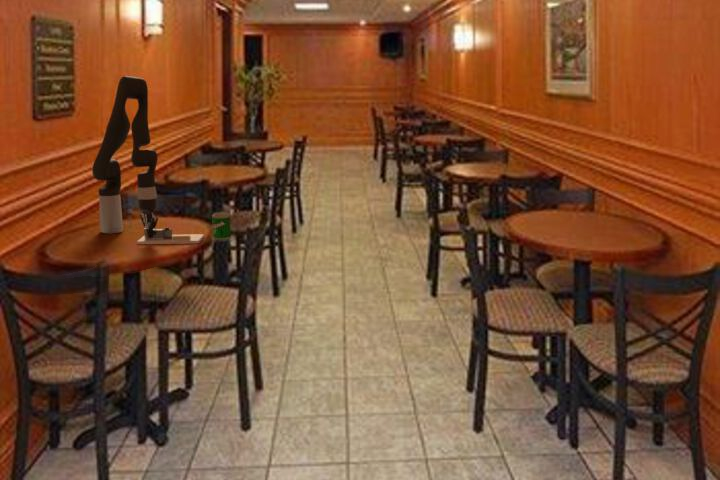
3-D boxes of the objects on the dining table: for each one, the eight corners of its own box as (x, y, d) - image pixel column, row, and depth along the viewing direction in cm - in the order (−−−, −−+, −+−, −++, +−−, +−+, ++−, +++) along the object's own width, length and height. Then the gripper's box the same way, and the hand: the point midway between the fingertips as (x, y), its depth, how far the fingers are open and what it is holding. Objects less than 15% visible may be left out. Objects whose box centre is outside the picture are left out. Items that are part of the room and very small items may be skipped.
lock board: (137, 244, 325) (136, 237, 324) (145, 237, 338) (144, 230, 337) (198, 243, 325) (198, 236, 325) (204, 236, 338) (203, 230, 337)
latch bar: (173, 236, 331) (172, 227, 331) (171, 238, 328) (170, 228, 327) (146, 236, 332) (146, 227, 331) (144, 238, 328) (143, 229, 327)
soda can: (222, 237, 337) (221, 210, 334) (234, 239, 332) (233, 212, 330) (209, 240, 331) (208, 213, 328) (221, 242, 326) (219, 215, 324)
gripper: (162, 198, 320) (165, 238, 323) (148, 194, 330) (151, 234, 333) (145, 200, 315) (148, 241, 318) (132, 196, 325) (135, 236, 328)
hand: (150, 237), depth 326 cm, fingers closed
